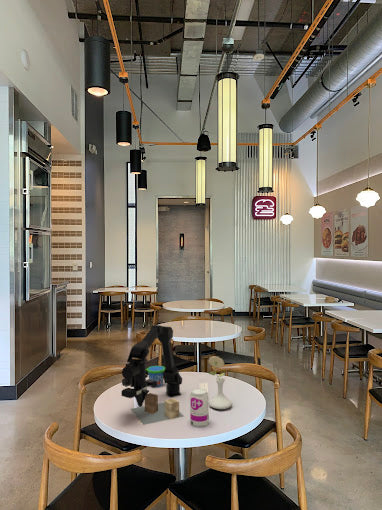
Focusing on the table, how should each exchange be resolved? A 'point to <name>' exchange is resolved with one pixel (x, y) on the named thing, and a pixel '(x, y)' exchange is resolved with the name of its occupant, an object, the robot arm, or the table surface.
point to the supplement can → (199, 408)
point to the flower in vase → (219, 386)
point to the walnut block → (151, 403)
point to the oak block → (171, 408)
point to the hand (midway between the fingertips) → (140, 406)
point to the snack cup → (156, 374)
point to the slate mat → (152, 418)
